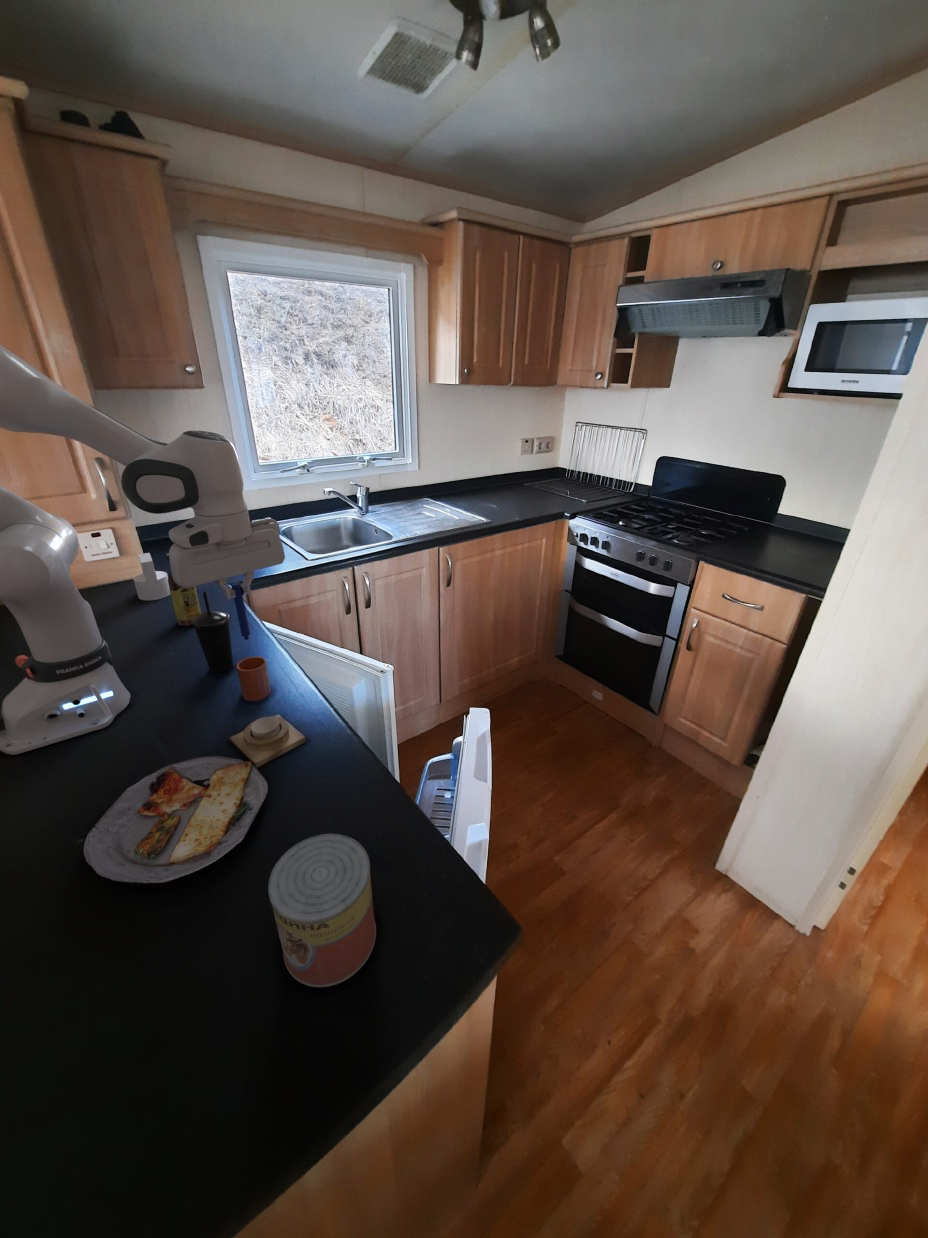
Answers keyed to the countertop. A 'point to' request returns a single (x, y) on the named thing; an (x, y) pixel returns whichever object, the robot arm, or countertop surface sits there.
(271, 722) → the face circle
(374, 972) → the countertop surface
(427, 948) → the countertop surface
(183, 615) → the sauce bottle
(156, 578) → the base with upright slab
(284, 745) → the wooden square stand base
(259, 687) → the pen pot
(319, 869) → the canned food
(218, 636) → the drinking cup
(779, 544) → the countertop surface
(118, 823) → the food plate
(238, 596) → the rod
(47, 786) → the countertop surface
